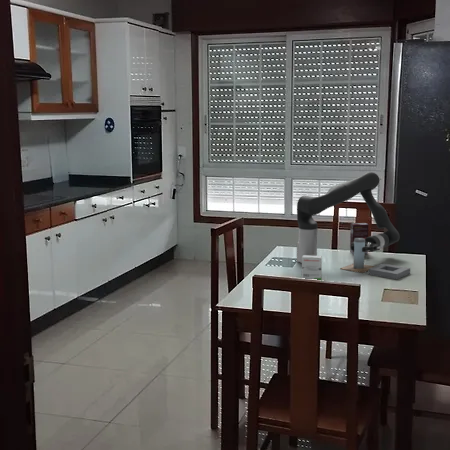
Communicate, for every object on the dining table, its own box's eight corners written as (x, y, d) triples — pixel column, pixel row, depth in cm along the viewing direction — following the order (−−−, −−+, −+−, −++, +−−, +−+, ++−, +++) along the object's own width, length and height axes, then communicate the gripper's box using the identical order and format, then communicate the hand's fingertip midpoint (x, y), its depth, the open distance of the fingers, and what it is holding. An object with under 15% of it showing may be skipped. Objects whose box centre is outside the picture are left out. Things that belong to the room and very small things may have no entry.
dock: (368, 274, 290) (368, 269, 290) (382, 268, 301) (382, 263, 300) (396, 279, 281) (396, 274, 281) (410, 273, 292) (410, 268, 291)
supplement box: (364, 251, 336) (365, 222, 333) (368, 253, 331) (369, 224, 328) (349, 252, 335) (350, 223, 332) (352, 254, 330) (353, 224, 327)
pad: (340, 269, 300) (340, 268, 300) (354, 263, 310) (354, 262, 310) (362, 273, 292) (362, 272, 292) (376, 267, 303) (376, 266, 303)
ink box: (321, 281, 279) (322, 255, 277) (321, 284, 275) (321, 257, 272) (302, 280, 281) (302, 254, 279) (301, 283, 276) (301, 257, 274)
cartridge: (351, 267, 301) (352, 239, 299) (356, 265, 305) (357, 237, 302) (360, 269, 298) (361, 240, 295) (365, 267, 302) (366, 238, 299)
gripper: (361, 233, 314) (344, 239, 302) (387, 237, 305) (371, 243, 293) (360, 248, 316) (343, 254, 303) (387, 252, 307) (370, 258, 294)
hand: (357, 248), depth 298 cm, fingers open, 5 cm apart
